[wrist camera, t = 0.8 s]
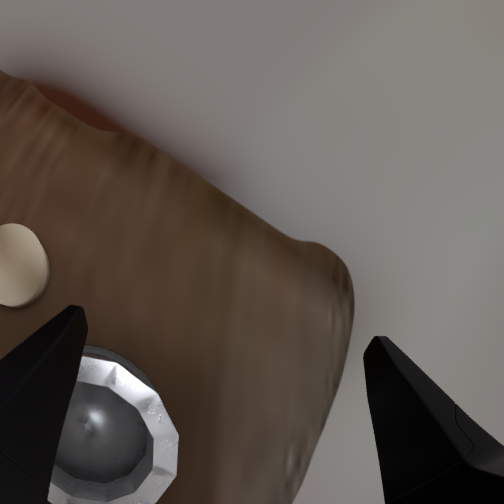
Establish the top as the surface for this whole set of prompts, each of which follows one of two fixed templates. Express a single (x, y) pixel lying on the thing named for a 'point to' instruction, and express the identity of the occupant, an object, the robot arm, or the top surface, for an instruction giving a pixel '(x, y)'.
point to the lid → (21, 267)
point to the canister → (113, 437)
